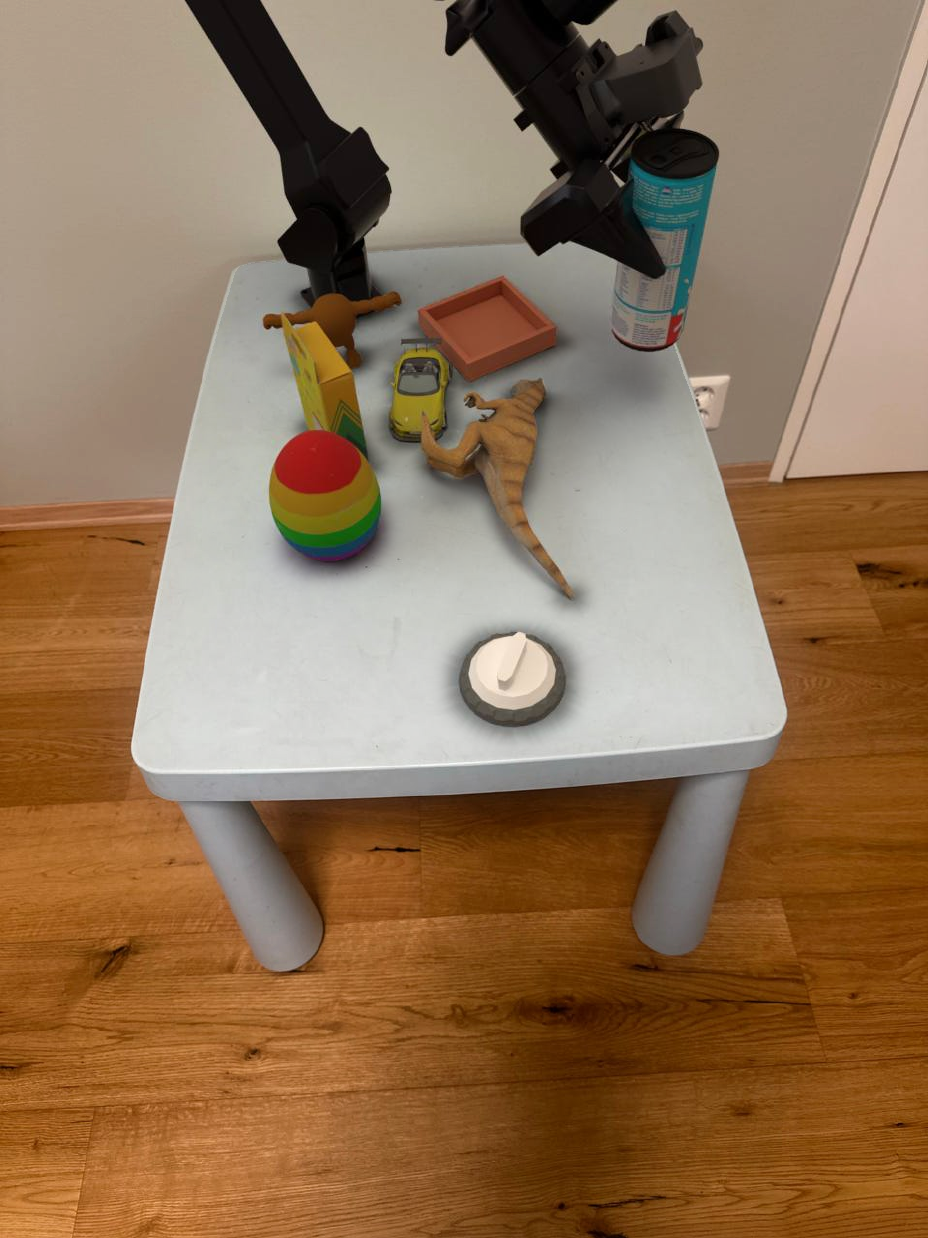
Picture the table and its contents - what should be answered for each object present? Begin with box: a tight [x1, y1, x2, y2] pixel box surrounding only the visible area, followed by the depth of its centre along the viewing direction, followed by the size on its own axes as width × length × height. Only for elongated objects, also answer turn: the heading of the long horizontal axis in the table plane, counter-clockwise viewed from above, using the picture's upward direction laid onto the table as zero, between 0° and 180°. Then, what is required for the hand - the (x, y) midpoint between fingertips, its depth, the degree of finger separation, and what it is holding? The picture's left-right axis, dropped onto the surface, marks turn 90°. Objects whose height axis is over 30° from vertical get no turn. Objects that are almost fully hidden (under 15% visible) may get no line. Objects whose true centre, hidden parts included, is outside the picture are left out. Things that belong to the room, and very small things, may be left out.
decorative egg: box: [268, 430, 382, 562], centre depth 68 cm, size 8×8×10 cm
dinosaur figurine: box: [420, 377, 575, 601], centre depth 72 cm, size 7×22×12 cm
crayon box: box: [280, 310, 370, 463], centre depth 73 cm, size 7×3×12 cm, turn 27°
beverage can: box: [609, 127, 720, 353], centre depth 69 cm, size 6×6×15 cm
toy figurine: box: [262, 290, 403, 369], centre depth 81 cm, size 12×4×7 cm, turn 102°
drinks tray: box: [417, 274, 558, 383], centre depth 85 cm, size 9×9×2 cm
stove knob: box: [458, 631, 566, 727], centre depth 63 cm, size 7×7×3 cm
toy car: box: [388, 337, 452, 442], centre depth 79 cm, size 5×10×3 cm, turn 178°
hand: (675, 252), depth 69 cm, fingers closed on beverage can, 6 cm apart
